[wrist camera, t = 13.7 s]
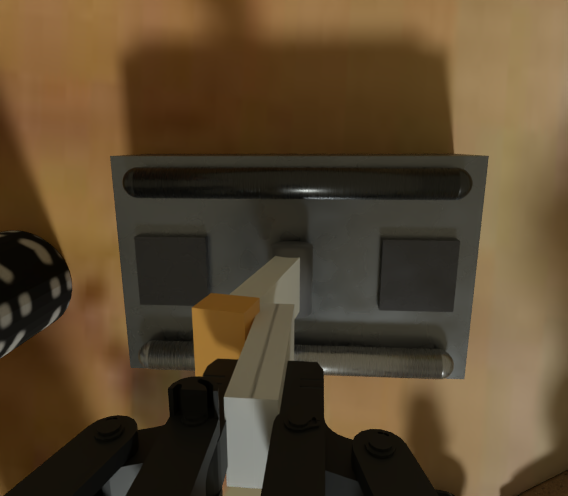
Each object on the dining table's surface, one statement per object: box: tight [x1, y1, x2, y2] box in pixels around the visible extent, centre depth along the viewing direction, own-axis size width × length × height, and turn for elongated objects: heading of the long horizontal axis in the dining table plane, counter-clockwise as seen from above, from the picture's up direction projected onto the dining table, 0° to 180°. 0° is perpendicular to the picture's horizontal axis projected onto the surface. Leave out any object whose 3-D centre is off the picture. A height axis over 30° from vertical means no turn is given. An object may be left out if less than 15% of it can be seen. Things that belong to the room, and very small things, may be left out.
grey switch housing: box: [110, 154, 489, 379], centre depth 28 cm, size 22×14×8 cm, turn 90°
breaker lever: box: [192, 241, 313, 377], centre depth 21 cm, size 2×4×11 cm, turn 1°
